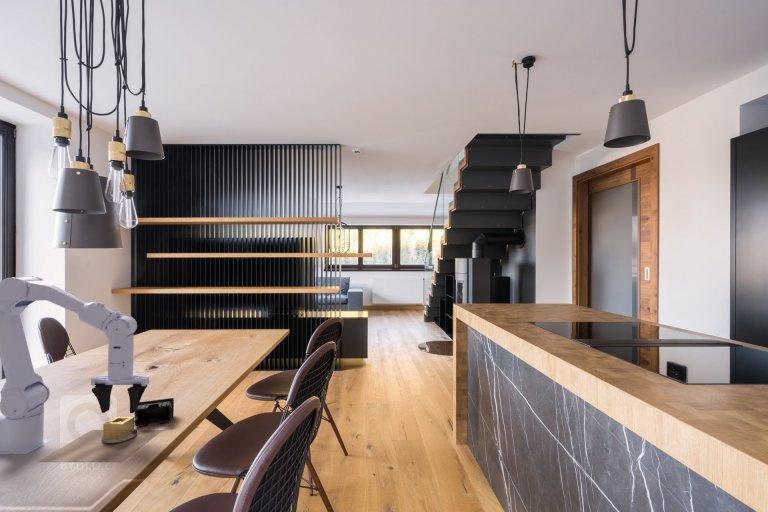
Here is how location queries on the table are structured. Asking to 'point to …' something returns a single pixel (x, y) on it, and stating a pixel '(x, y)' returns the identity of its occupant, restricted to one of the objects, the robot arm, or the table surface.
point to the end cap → (154, 411)
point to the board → (99, 448)
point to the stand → (117, 441)
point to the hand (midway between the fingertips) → (119, 411)
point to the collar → (118, 428)
